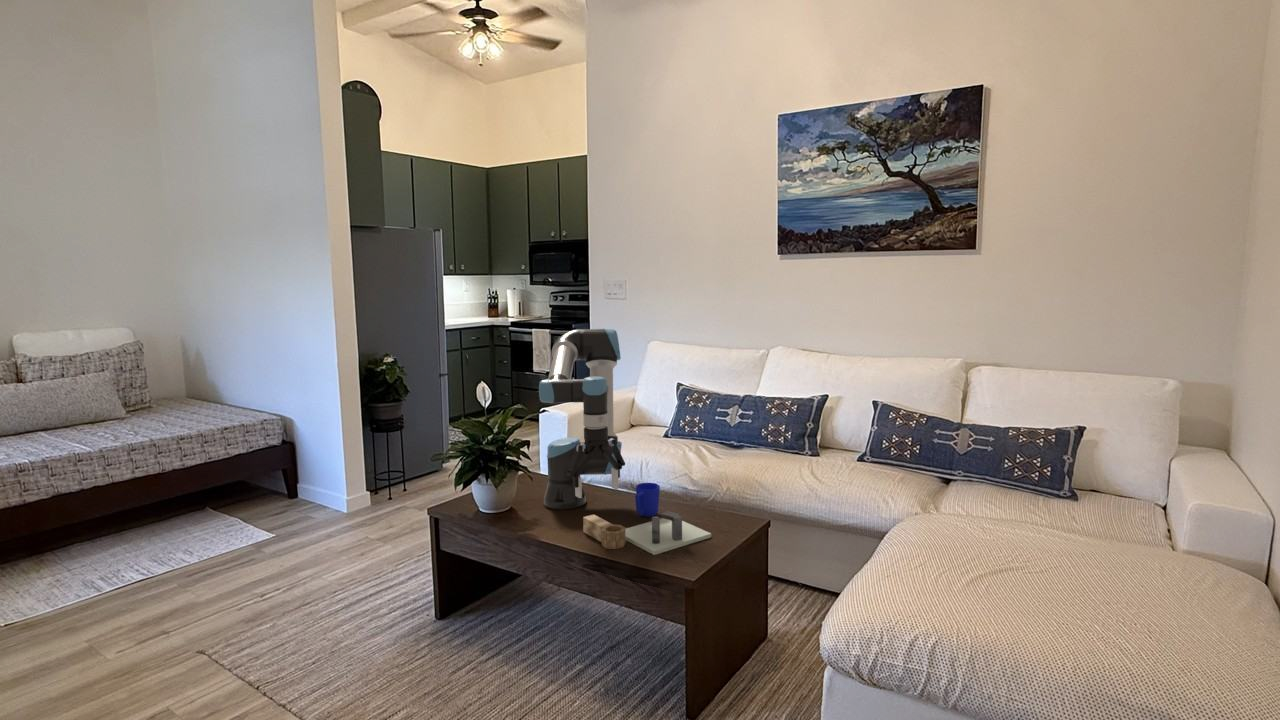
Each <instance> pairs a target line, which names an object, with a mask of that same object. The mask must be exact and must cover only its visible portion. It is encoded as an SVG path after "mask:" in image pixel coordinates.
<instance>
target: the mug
mask: <svg viewBox="0 0 1280 720" xmlns="http://www.w3.org/2000/svg"><path fill="white" fill-rule="evenodd" d="M660 488H661V487H660V485H659V484H658V483H654V482H643V483H638V484H636V485H635V491H636V492H635V495H634V496H635V499H634V500H635V507H636V508H635V509H636V513H637V514H638V515H639V516H641V517H642V516H643V517H646V518H647V517H648V518H651V517H654V516H656V515H657V514H658V513H659V503H660V502H659V501H660Z"/></svg>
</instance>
